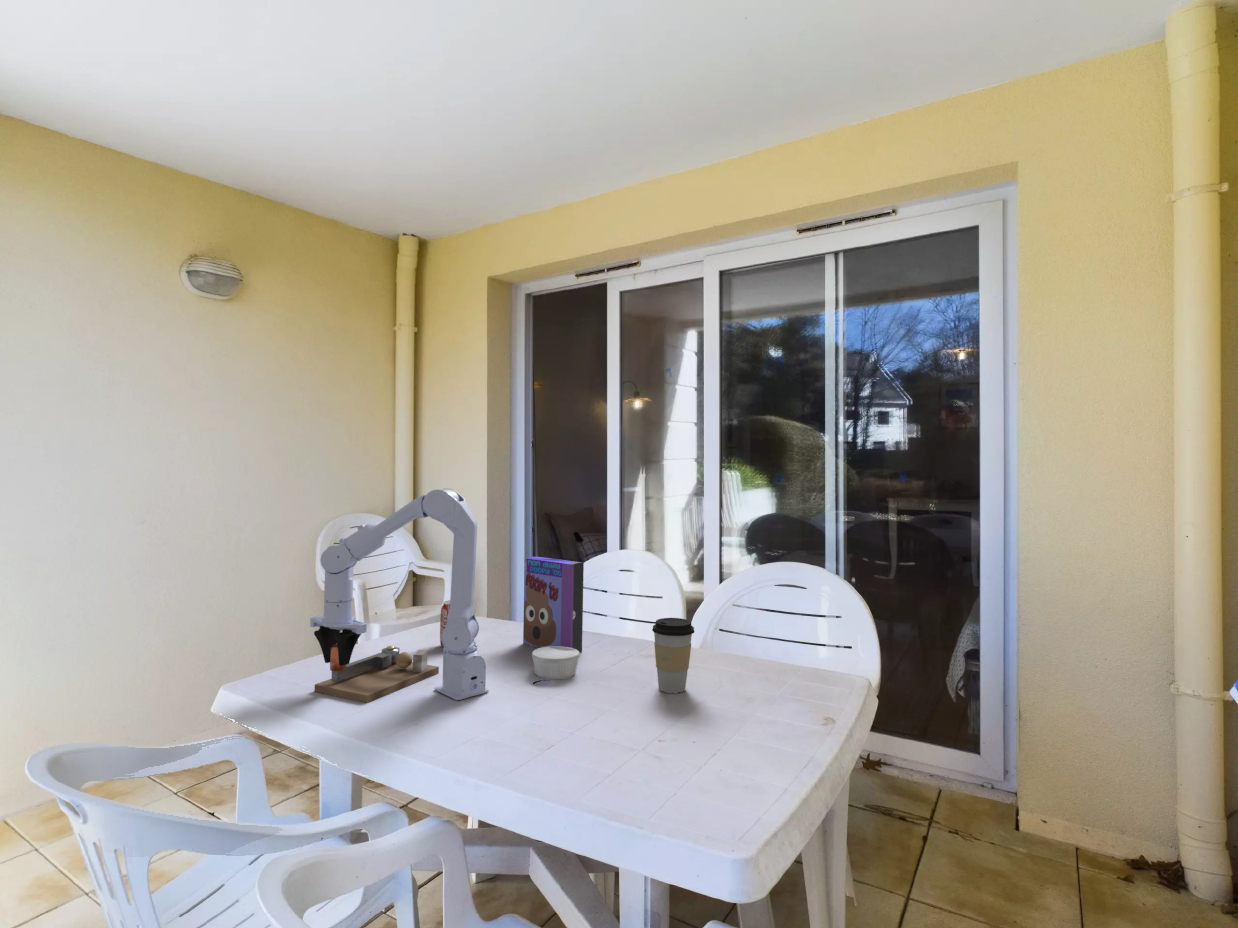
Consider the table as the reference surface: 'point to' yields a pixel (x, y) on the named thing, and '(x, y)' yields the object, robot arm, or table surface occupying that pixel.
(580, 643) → the cereal box
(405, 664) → the walnut
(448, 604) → the soda can
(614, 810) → the table surface
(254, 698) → the table surface
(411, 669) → the board
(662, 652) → the coffee cup
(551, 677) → the ramekin
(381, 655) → the lever
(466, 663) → the robot arm
